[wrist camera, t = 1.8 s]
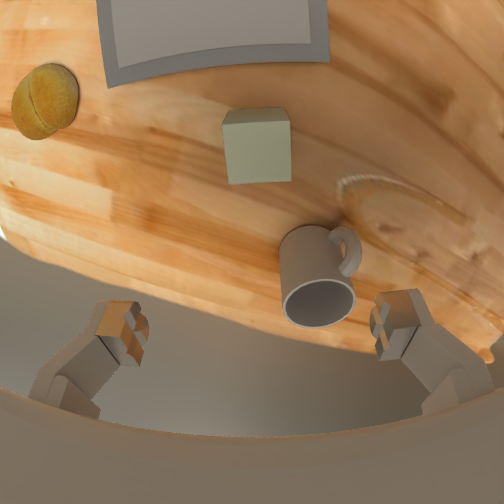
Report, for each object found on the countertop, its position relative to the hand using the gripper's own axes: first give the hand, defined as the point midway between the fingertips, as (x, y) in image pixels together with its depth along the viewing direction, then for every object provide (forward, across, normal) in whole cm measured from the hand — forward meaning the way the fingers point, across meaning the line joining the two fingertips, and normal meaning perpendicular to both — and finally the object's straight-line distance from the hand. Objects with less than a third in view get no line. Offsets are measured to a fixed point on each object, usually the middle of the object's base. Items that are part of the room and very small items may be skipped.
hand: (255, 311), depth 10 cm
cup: (+21, -6, +13) cm, 26 cm away
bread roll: (+22, +22, -8) cm, 32 cm away
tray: (+21, +3, -16) cm, 27 cm away
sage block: (+21, 0, 0) cm, 21 cm away
